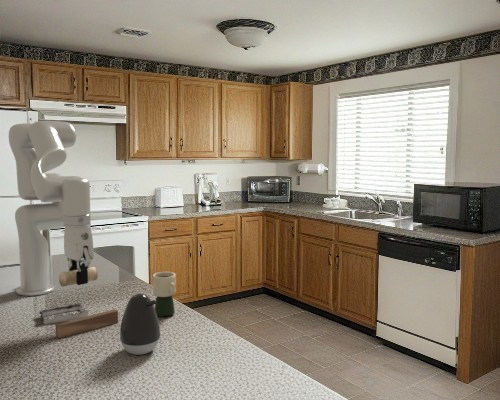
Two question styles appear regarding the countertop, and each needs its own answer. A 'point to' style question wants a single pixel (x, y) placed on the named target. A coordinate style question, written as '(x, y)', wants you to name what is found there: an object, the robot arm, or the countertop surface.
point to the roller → (71, 278)
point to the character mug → (164, 292)
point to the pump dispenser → (139, 325)
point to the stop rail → (86, 323)
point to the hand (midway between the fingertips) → (78, 281)
